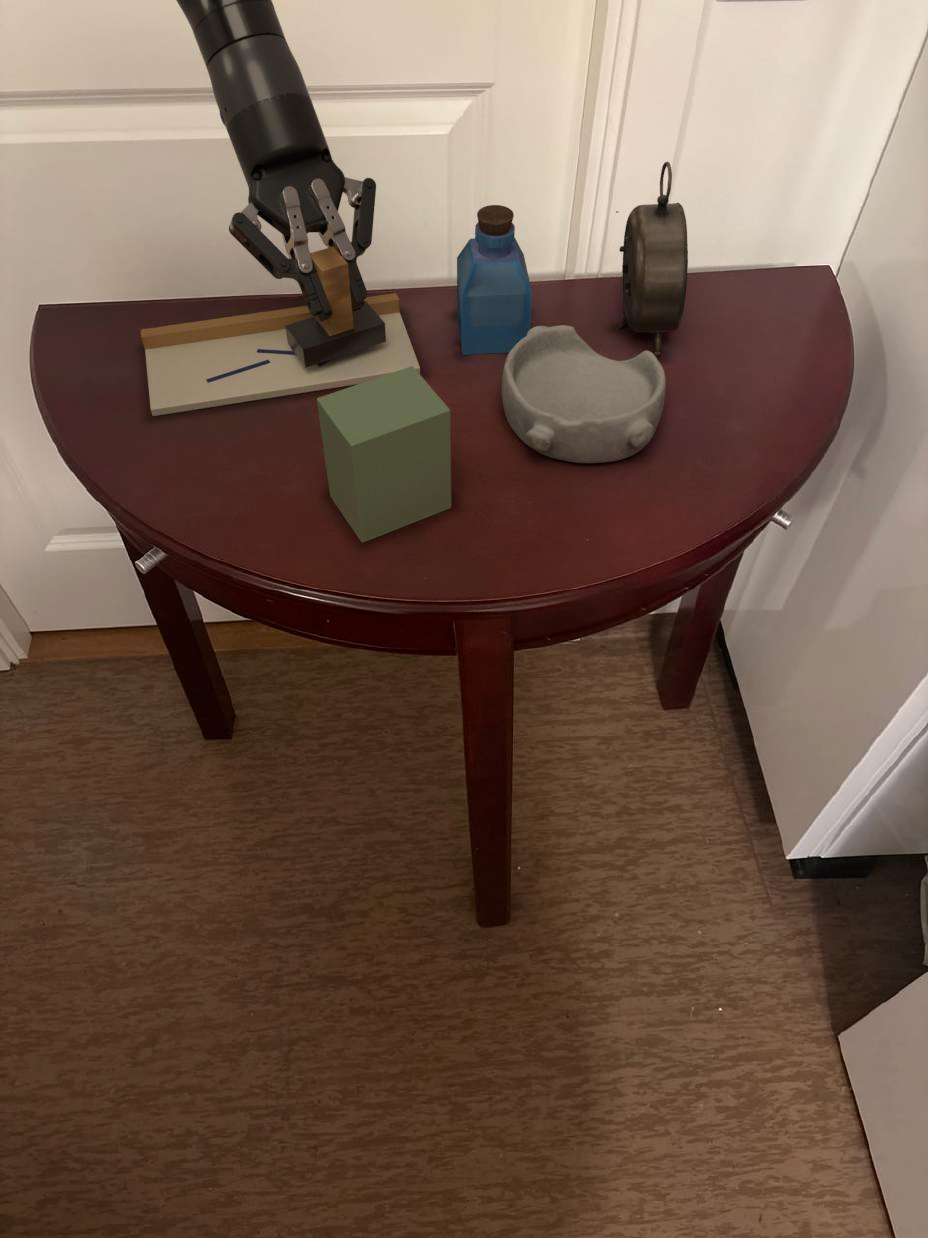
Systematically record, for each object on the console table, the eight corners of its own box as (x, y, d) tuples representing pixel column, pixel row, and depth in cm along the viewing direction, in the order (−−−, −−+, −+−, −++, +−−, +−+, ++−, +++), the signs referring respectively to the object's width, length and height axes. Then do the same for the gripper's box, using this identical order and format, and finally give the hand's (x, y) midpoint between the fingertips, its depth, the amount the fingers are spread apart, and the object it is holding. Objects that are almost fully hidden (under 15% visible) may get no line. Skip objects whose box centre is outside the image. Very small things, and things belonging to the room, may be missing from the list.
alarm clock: (676, 365, 93) (709, 197, 80) (617, 365, 93) (641, 196, 80) (663, 297, 100) (692, 132, 87) (609, 296, 100) (630, 131, 87)
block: (361, 543, 79) (350, 445, 71) (329, 496, 82) (315, 398, 74) (451, 508, 81) (450, 409, 73) (417, 463, 84) (412, 365, 77)
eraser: (305, 368, 89) (293, 282, 83) (287, 344, 92) (274, 259, 85) (386, 341, 92) (380, 256, 85) (367, 318, 94) (360, 234, 87)
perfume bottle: (462, 354, 94) (462, 235, 84) (457, 315, 98) (456, 197, 88) (528, 351, 94) (535, 232, 85) (520, 312, 98) (526, 194, 89)
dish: (512, 360, 93) (514, 313, 89) (663, 377, 92) (672, 330, 88) (486, 465, 84) (488, 418, 80) (653, 486, 83) (663, 439, 79)
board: (152, 416, 88) (146, 396, 86) (146, 349, 94) (140, 329, 92) (420, 374, 92) (419, 354, 90) (397, 312, 98) (396, 292, 96)
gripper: (192, 110, 79) (275, 326, 82) (354, 73, 83) (427, 279, 86) (184, 149, 86) (260, 346, 89) (333, 112, 90) (402, 301, 93)
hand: (342, 312), depth 87 cm, fingers closed on eraser, 2 cm apart
